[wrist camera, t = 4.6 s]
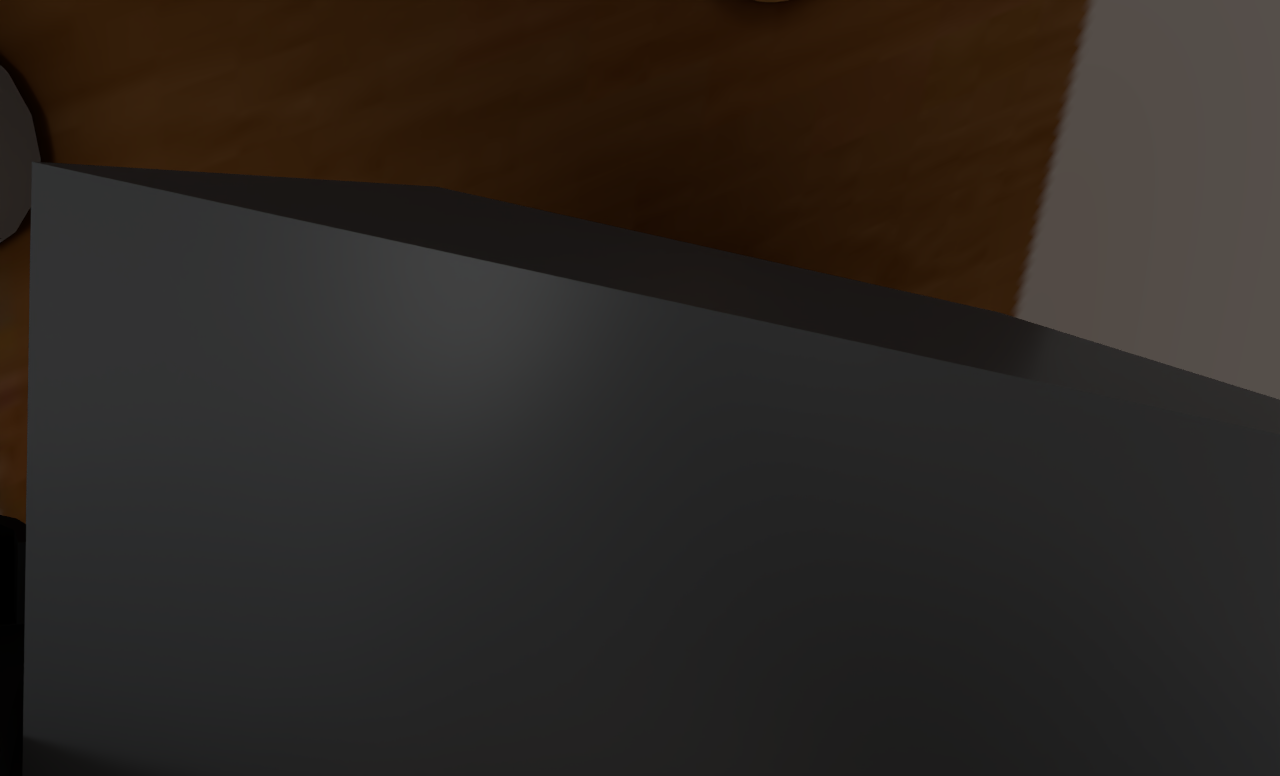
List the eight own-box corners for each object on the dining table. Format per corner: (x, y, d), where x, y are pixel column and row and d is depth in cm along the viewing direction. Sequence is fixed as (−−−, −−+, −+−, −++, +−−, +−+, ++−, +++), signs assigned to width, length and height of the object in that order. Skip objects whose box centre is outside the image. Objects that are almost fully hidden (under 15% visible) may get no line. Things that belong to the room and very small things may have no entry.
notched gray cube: (437, 186, 13) (32, 160, 4) (998, 312, 13) (1651, 514, 5) (363, 689, 15) (14, 1325, 7) (840, 776, 16) (1085, 1458, 7)
